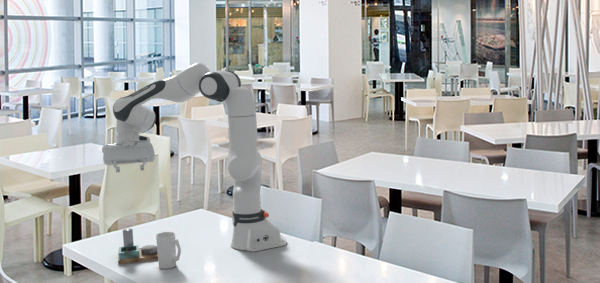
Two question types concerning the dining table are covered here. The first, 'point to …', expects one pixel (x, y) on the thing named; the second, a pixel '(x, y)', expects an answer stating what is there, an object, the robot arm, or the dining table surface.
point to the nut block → (137, 254)
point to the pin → (128, 239)
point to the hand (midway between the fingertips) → (130, 170)
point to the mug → (167, 250)
